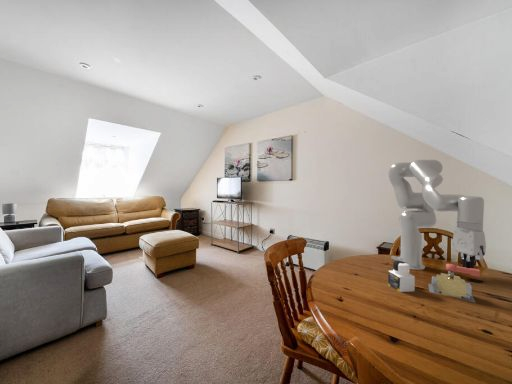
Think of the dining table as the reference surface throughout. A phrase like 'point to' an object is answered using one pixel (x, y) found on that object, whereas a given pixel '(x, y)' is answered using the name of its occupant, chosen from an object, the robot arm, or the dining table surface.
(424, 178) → the robot arm
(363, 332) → the dining table surface
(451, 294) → the valve
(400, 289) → the medicine bottle
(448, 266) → the lever
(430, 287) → the mat
